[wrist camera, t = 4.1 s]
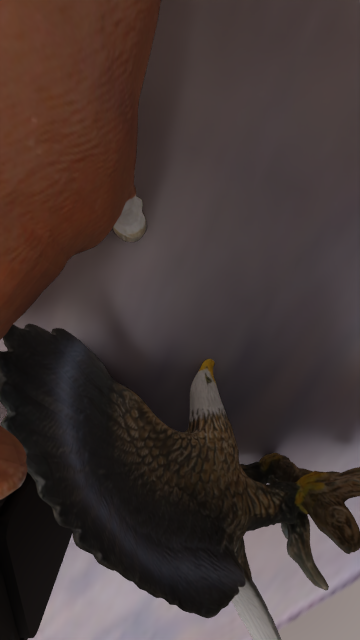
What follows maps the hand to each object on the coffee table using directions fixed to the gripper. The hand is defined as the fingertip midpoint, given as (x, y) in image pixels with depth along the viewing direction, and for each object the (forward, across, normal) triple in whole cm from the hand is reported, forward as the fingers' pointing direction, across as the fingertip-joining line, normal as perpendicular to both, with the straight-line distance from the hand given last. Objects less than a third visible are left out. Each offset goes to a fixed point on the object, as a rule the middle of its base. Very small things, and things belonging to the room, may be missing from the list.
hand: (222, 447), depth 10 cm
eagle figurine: (+2, +1, 0) cm, 3 cm away
